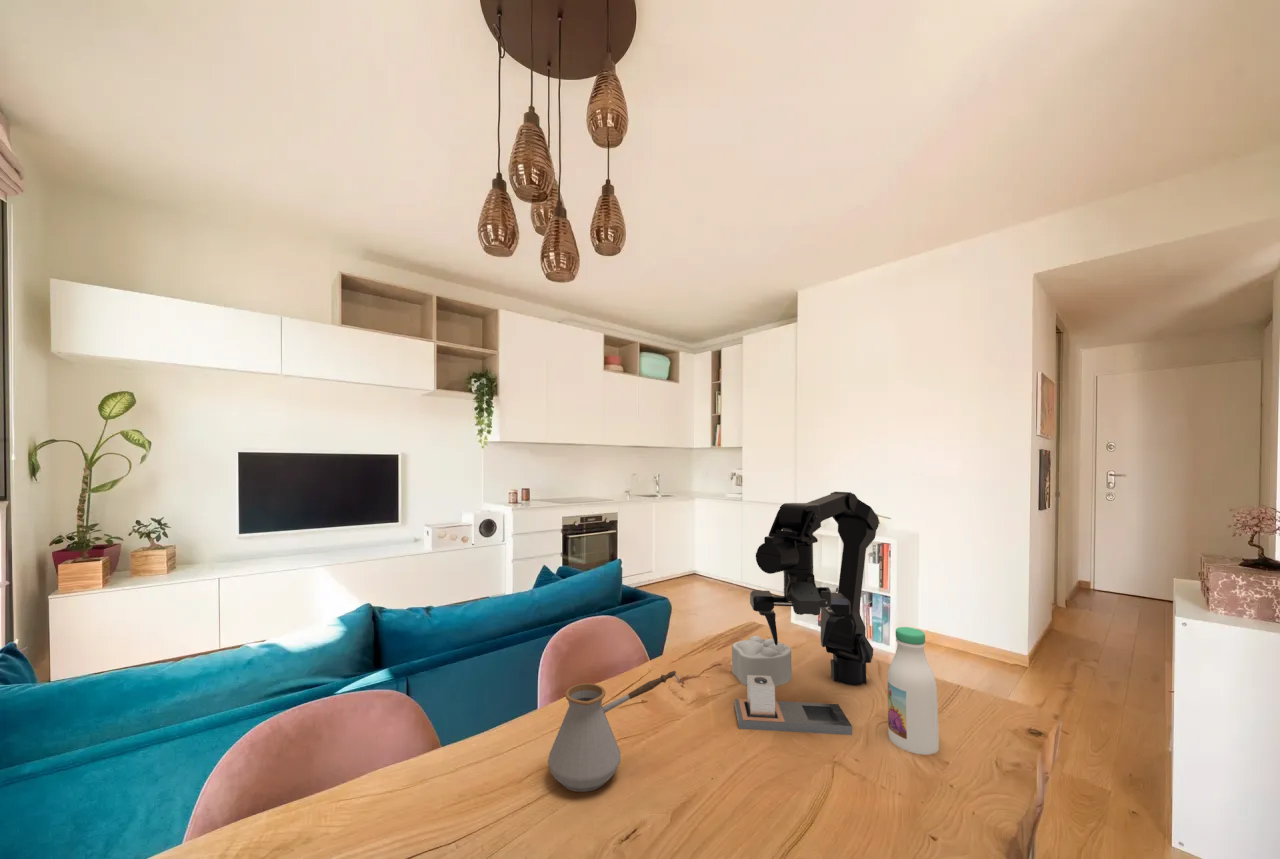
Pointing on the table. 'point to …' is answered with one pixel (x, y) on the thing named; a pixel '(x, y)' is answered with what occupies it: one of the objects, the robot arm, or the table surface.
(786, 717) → the grey flat block
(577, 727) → the coffee pot
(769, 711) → the block
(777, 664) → the lumpy-topped squat cylinder
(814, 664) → the table surface
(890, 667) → the milk bottle
